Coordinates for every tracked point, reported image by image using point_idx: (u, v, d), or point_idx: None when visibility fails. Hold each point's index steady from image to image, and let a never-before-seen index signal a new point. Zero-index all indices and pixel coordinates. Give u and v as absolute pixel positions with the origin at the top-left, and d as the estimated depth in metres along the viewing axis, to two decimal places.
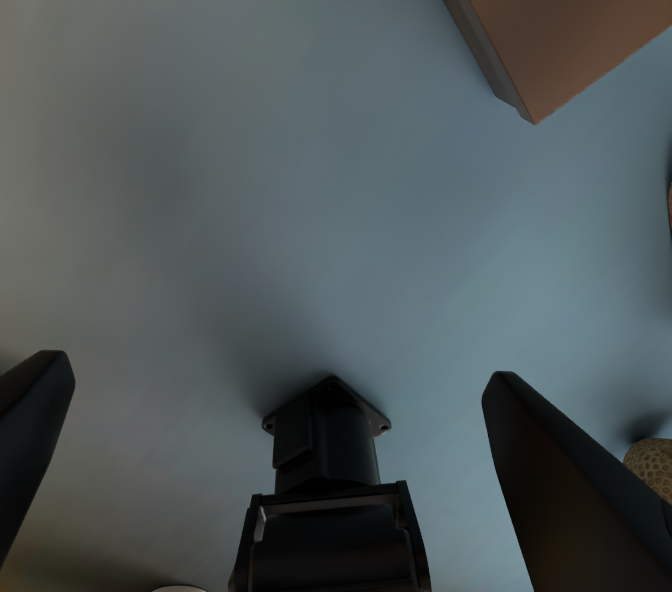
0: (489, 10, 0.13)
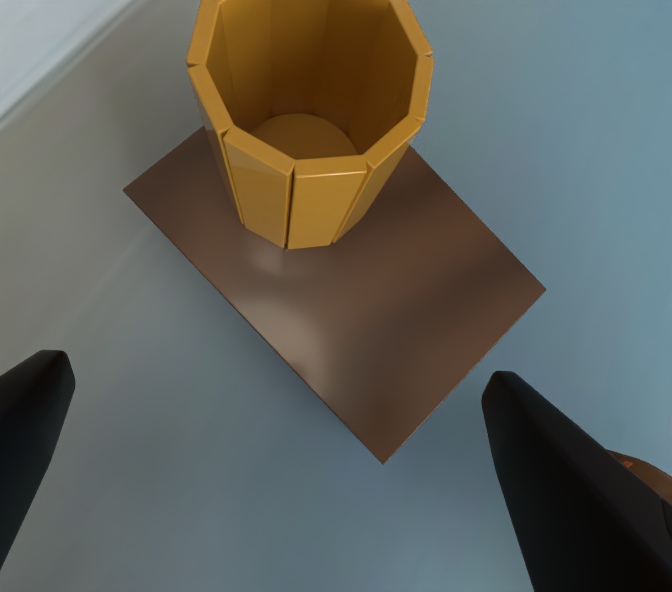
0: (323, 389, 0.18)
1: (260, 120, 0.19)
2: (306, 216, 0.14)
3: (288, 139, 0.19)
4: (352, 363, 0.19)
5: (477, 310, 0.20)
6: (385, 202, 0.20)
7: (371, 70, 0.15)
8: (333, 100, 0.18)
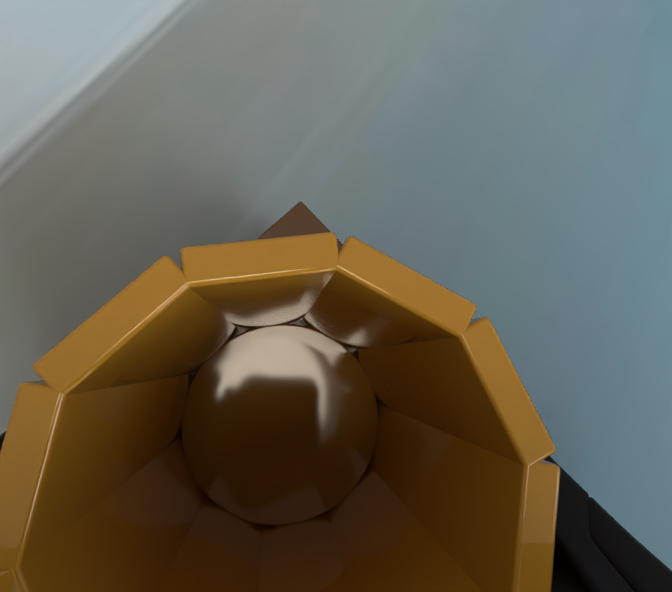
0: None
1: (220, 347, 0.12)
2: None
3: (264, 368, 0.12)
4: None
5: None
6: None
7: (403, 355, 0.08)
8: (334, 331, 0.11)
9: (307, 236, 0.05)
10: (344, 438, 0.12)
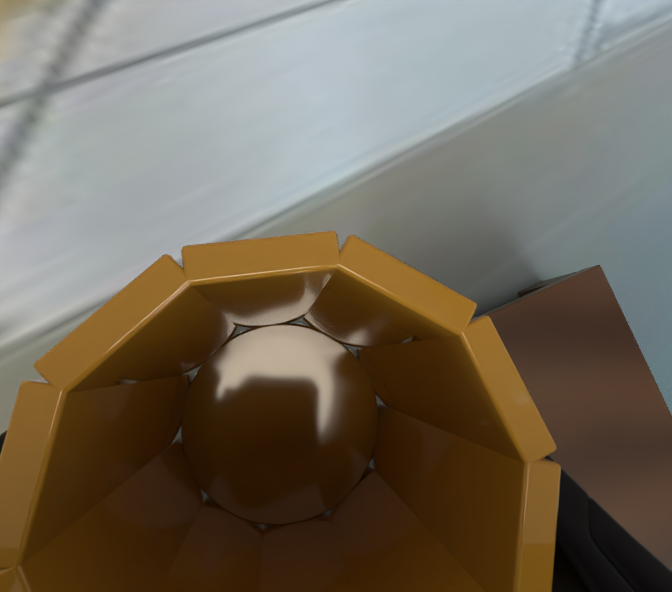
0: None
1: (220, 346, 0.12)
2: None
3: (264, 368, 0.12)
4: None
5: None
6: (625, 448, 0.19)
7: (403, 354, 0.08)
8: (334, 331, 0.11)
9: (307, 235, 0.05)
10: (344, 437, 0.12)
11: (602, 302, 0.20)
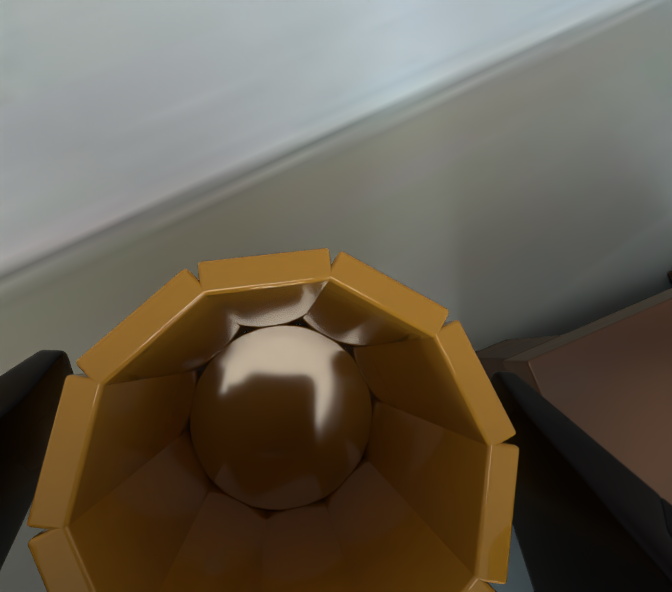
0: None
1: (225, 345, 0.13)
2: None
3: (266, 366, 0.13)
4: None
5: None
6: None
7: (391, 353, 0.09)
8: (330, 331, 0.12)
9: (304, 252, 0.06)
10: (340, 430, 0.13)
11: None
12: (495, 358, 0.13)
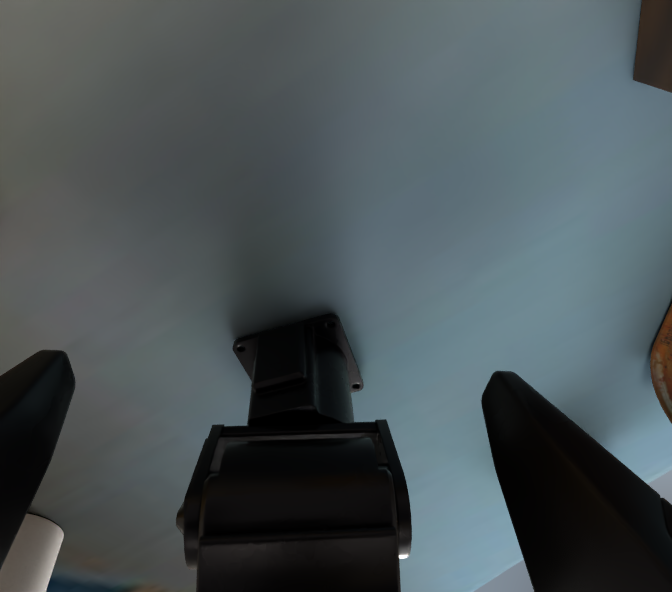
0: None
1: None
2: None
3: None
4: None
5: None
6: None
7: None
8: None
9: None
10: None
11: None
12: None
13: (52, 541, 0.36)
